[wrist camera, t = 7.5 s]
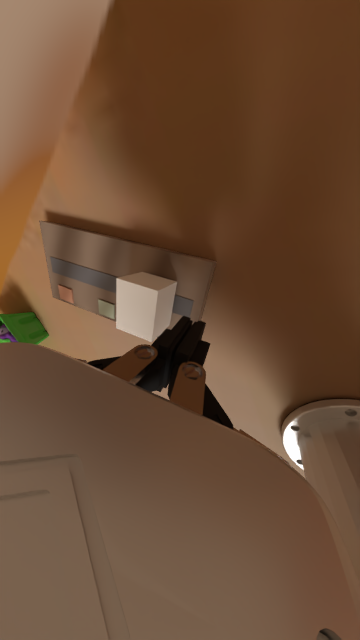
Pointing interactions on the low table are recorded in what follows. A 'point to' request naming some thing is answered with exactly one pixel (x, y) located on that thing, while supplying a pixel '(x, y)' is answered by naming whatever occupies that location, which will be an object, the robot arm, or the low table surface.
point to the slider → (144, 304)
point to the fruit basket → (21, 328)
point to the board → (119, 270)
